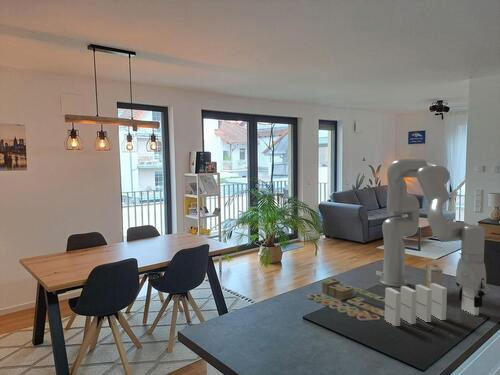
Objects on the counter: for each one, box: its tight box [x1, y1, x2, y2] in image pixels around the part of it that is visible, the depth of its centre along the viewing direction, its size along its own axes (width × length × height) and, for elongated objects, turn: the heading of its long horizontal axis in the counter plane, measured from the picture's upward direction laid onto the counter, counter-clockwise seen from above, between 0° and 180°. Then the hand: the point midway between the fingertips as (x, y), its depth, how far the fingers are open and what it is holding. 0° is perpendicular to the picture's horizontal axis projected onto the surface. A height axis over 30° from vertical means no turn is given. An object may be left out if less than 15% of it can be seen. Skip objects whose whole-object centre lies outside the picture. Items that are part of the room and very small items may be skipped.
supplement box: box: [424, 264, 443, 289], centre depth 159 cm, size 8×5×13 cm, turn 168°
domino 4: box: [430, 283, 448, 321], centre depth 137 cm, size 2×6×12 cm, turn 15°
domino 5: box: [460, 286, 480, 316], centre depth 142 cm, size 2×6×12 cm, turn 16°
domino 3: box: [415, 284, 432, 323], centre depth 135 cm, size 2×6×12 cm, turn 15°
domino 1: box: [384, 287, 401, 327], centre depth 132 cm, size 2×6×12 cm, turn 15°
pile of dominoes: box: [305, 277, 385, 322], centre depth 152 cm, size 35×27×6 cm
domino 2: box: [400, 286, 417, 325], centre depth 134 cm, size 2×6×12 cm, turn 15°
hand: (470, 303), depth 142 cm, fingers open, 6 cm apart
